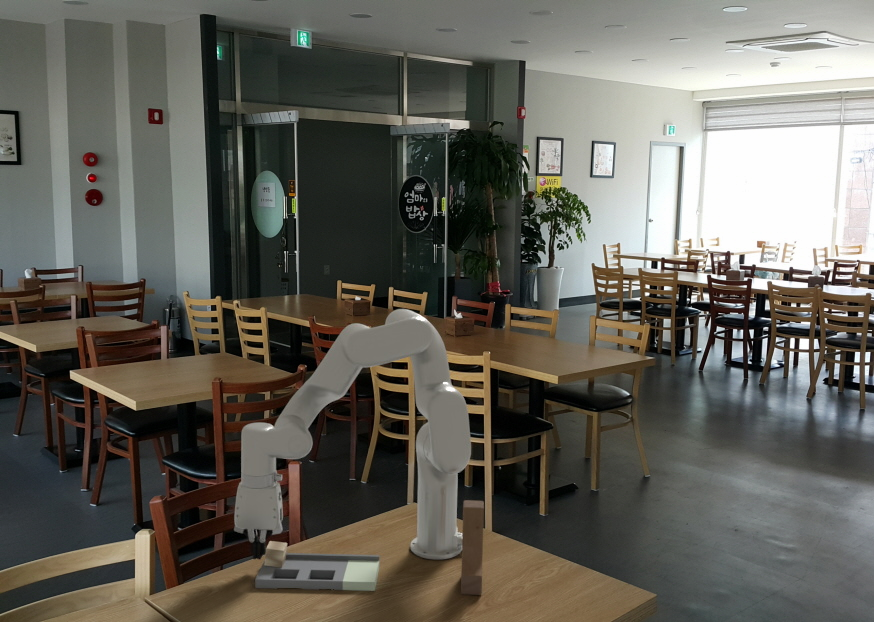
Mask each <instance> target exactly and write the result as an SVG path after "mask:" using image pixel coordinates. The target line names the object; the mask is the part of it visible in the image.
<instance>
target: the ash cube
mask: <svg viewBox="0 0 874 622" xmlns="http://www.w3.org/2000/svg"><path fill="white" fill-rule="evenodd" d="M287 549H288V543H287V542H281V541H274V540H273V541H272V540H270V541H269V542H268V544H267V545H266V552H265V554H264V561H265V564H264V565H265V566H273V567H281V568H282V567H283V564H284V562H285V560H286V553H287V551H288V550H287Z"/></svg>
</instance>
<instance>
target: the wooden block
mask: <svg viewBox="0 0 874 622" xmlns="http://www.w3.org/2000/svg"><path fill="white" fill-rule="evenodd" d="M484 504H485V503H484V501H483V500H472V499H471V500H469V499H467V500H463V505H462V533H463V534H462V551H461V572H460V573H461V574H460V575H461V576H460V594H461V595H471V596H481V595H482V589H483V554H484V553H483V551H484V550H483V549H484V547H483V546H484V544H483V543H484V515H485V514H484V512H485V510H484V509H485V507H484V506H485V505H484Z"/></svg>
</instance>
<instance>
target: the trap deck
mask: <svg viewBox="0 0 874 622" xmlns="http://www.w3.org/2000/svg"><path fill="white" fill-rule="evenodd" d="M264 564H265V560H264V561H263V563H262V566H261V567H260V569H259V571H258V573H257V575H256V577H255V579H254V587H255V589H277V588H302V589H301V590H319V589H331V590H330V591H363V592H364V591H365V592H367V591H368V592H369V591H371V592H373V591H374V592H376V588H377V582H378V578H379V577H378V575H379V571H380V554H349V553H346V554H345V553H343V554H342V553H341V554H340V553H308V552H307V553H304V552H302V553H301V552H286V560H285V562H284V564H283V567H282V568H281V567H273V566H265V565H264ZM333 589H334V590H333Z"/></svg>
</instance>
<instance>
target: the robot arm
mask: <svg viewBox="0 0 874 622" xmlns="http://www.w3.org/2000/svg"><path fill="white" fill-rule="evenodd" d="M409 357H410V362H411V367H412V374H413V382H414V383H413V384H414V394H415V404H416V405H415V406H416V407H417V410H418V412H419V413H420V414H421V415H422V416H423V417H424V418H425V419H426V420H427V422H426V423H425V424H423V425H422V426H421V427H420V429H419V430H418V432H417V434H416V440H415V449H416V450H415V452H416V461H417V510H416V511H417V512H416V513H417V520H416V523H417V524H416V525H417V527H416V529H417V530H416V537H414V538H413V539H412V540H411V542H410V550H411V552H412V553H413V554H414V555H415V556H417V557H420V558H423V559H427V560H434V561H435V560H436V561H437V560H448V559H452V558H454V557H456V556H458V555H460V554H462V534H463V532H460V531H459V530H458V529H459V528H458V526H457V525H458V524H457V522H458V521H457V517H458V516H457V515H458V514H457V511H458V510H457V508H458V480H459V479H458V475H459V474H458V473H461V472H462V471H463V470H465V468H466V467H467V465H468V464H469V462H470V459H471V455H472V441H471V432H470V431H471V430H470V419H469V418H470V417H469V410H468V406H467V403H466V400H465V398H464V395H463V394H462V393H461V392H460V391H459V390H458V389H457V388H455V387H454V386H453V384H452V379H451V373H450V366H449V359H448V353H447V350H446V347H445V343H444V341H443V339H442V337H441V335H440V333H439V332H438V330H437V329H436V327H435V326H434V325H433V324H432V323H431V322H430V321H429V320H428V319H427V318H426V317H424V316H422V315H421V314H419V313H417V312H415V311H413V310H410V309H406V308H398V309H395V310H393V311H391V312H390V313H389V314H388V315H387V317H386V319H385V324H383V325H379V326H373V327H369V326H367V325H366V324H362V323H359V322H358V323H351V324H348V325H347V326H346V327H344V328H343V329H342V331H341V332H340V333H339V335H338V336H337V338H336V339H335V341H334V342H333V344H332V345H331V347H330V349H329V350H328V351H327V353H326V354H325V355H324V358H323V359H322V360H321V362H320V363H319V364H318V366H317V368H316V369H315V371H314V372H313V374H312V375H311V376H310V377H309V378H308V379H307V380H306V381H305V382H304V383H303V385H302V386H300V388H299V389H298V390H297V391H296V392H295V393H294V394H293V395H292V397H291V398H290V399H289V401H288V403H286V405H285V407H284V409H283V410H282V411H281V413H280V415H278V418H277V419H276V421H275V423H274V425H272V424H271V423H267V422H252V423H248V424H246V425H244V426H243V427H242V430H241V439H240V440H241V442H240V443H241V447H240V448H241V449H240V451H241V457H240V459H241V460H240V461H241V463H240V465H241V466H240V467H241V471H240V472H241V473H240V474H241V477H240V479H241V481H240V482H239V483H238V486H237V491H236V497H235V505H234V506H235V507H234V517H233V518H234V528H233V531H234V532H237V533H240V534H243V535H244V536H245V537H246V538H247V539H248V540H249V542H250V554H251V555H252V559H253V560H262V558H263V556H264V555H265V554H266V548H267V541H266V540H267V539H268V538H270V537H271V536H273V535H279V534H282V532H283V525H282V522H283V518H284V513H283V497H282V490H281V485H280V482H282V481H283V474H279V473H278V471H277V459H286V460H299V459H301V458H302V459H303V458H305V457H306V456H307V455H308V454H309V453H310V452H311V450H312V448H313V437H312V435H311V432H310V431H309V428H310V426H311V425H312V423H313V422H314V420H315V419H316V417H317V416H318V414H319V413H320V412H321V411H322V410H323V409H324V408H325V407H326V406H327V405H328V404H330V403H332V402H335V401H338V400H339V399H341V398H343V397H344V396H345V395H346V394H347V393H348V390H349V389H350V387H352V384H354V381H355V380H356V379H357V377H358V375H359V374H360V372H361V370H362V369H363V368H371V367H377V366H382V365H385V364H389V363H392V362H395V361H399V360H402V359H407V358H409ZM279 481H280V482H279ZM257 530H260V535H259V536H258V531H257ZM458 531H459V532H458Z"/></svg>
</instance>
